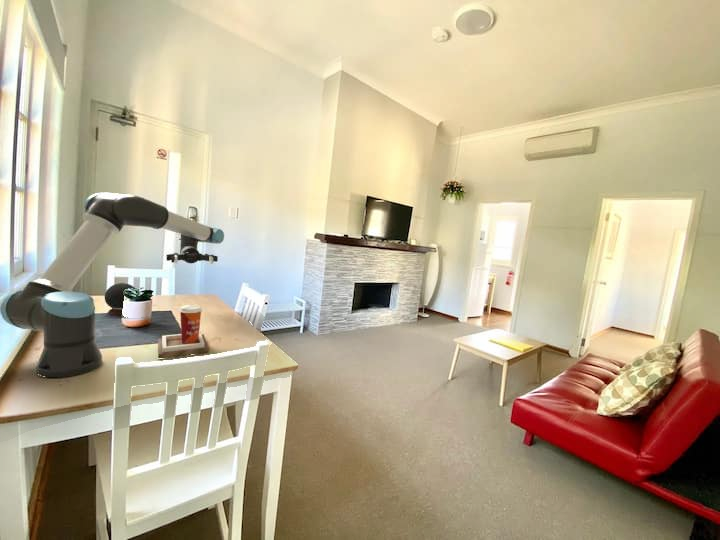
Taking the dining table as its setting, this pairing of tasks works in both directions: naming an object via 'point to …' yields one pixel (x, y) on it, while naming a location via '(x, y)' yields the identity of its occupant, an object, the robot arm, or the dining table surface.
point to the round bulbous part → (116, 298)
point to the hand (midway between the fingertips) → (194, 260)
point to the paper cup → (190, 323)
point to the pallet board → (180, 346)
